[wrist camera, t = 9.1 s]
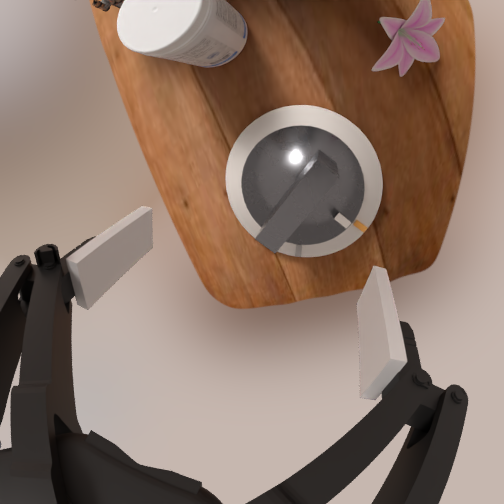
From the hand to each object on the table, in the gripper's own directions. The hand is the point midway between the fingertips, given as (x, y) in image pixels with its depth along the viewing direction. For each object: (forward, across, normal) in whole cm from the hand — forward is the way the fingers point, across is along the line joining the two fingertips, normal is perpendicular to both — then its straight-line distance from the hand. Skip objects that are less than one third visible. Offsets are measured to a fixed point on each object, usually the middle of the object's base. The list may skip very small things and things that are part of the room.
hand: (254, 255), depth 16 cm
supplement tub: (+24, -14, +16) cm, 32 cm away
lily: (+24, +10, +20) cm, 32 cm away
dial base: (+23, +1, -1) cm, 23 cm away
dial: (+21, +1, -1) cm, 21 cm away
